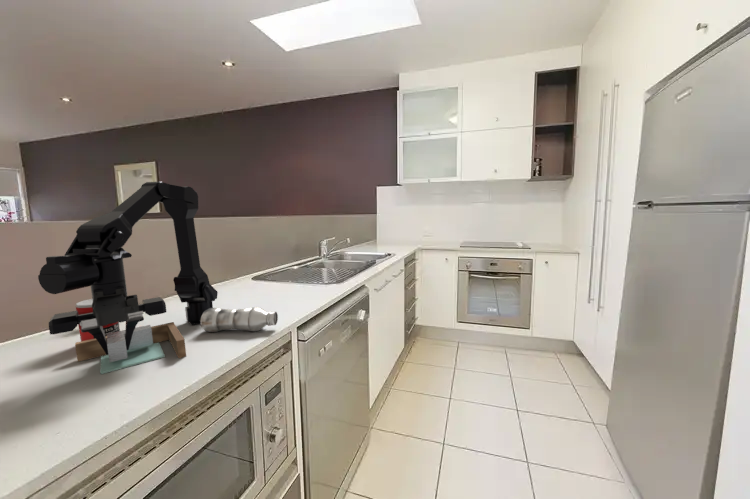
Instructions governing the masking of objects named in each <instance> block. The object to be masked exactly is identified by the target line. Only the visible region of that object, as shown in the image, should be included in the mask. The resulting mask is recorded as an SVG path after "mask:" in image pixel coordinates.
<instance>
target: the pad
mask: <svg viewBox="0 0 750 499" xmlns="http://www.w3.org/2000/svg"><path fill="white" fill-rule="evenodd" d="M127 357H128V358H126V359H122V360H118V361H114V362H109V355H104V356H100V375H103V374H106V373H110V372H114V371H117V370H121V369H125V368H130V367H133V366H137V365H139V364H144V363H147V362H152V361H156V360H158V359H162V358H165V353H164V351H163V349H162V346H161V343H160V342H158V343H154V344H152V345H148V346H144V347H140V348H135V349H131V350H127Z"/></svg>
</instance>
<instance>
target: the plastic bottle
mask: <svg viewBox="0 0 750 499" xmlns="http://www.w3.org/2000/svg"><path fill="white" fill-rule="evenodd" d="M278 317H279V315H278V312H277V311H271V310H270V311H266V310H264V309H263V308H261V307H259V306H256V307H255V306H254V307H247V308H238V309H229V308H227V309H225V308H221V307H213V308H209V309H207V310H206V311H204V312H203V314H202V316H201V323H200V327H201V329H202V330H203V331H205V332H208V333H215V332H216V333H217V332H221V331H229V330H230V331H231V330H238V331H250V332H258V331H261V330H262V329H264V328H265V327H266V326H268V327H271V326H276V325H277V324H278V320H279V318H278Z"/></svg>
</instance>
